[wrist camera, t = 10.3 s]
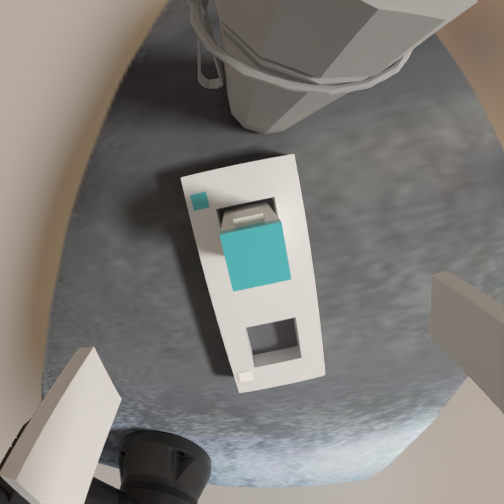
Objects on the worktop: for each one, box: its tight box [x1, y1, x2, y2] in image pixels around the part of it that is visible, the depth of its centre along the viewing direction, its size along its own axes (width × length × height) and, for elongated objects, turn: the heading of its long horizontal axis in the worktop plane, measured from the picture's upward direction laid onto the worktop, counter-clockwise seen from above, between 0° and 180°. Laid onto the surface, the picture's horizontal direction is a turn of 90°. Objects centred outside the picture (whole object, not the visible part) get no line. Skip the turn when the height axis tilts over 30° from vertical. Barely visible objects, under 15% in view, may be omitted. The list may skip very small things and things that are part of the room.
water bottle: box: [184, 0, 477, 135], centre depth 15 cm, size 9×8×25 cm
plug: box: [220, 202, 291, 292], centre depth 25 cm, size 4×5×10 cm
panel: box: [181, 154, 325, 393], centre depth 31 cm, size 10×24×3 cm, turn 11°
